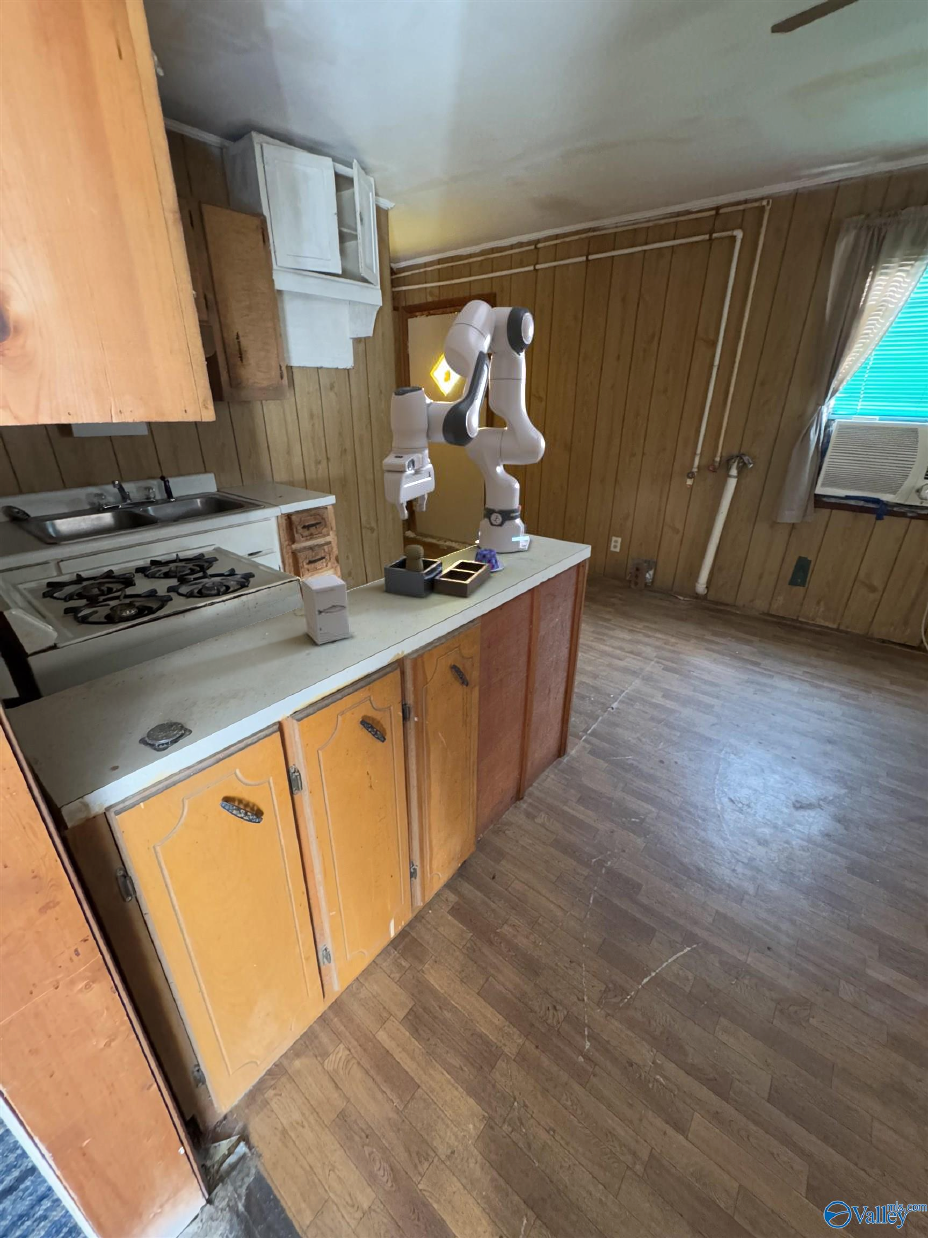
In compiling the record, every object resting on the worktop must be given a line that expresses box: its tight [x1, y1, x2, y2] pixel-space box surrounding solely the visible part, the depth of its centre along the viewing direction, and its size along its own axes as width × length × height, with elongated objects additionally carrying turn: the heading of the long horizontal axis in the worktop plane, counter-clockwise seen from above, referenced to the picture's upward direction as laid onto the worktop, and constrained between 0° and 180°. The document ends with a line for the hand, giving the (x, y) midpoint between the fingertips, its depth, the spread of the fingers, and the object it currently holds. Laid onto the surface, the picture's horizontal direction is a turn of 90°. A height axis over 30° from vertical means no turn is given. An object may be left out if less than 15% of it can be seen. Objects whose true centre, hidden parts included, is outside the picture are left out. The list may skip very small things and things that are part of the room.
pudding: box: [471, 548, 506, 572], centre depth 153 cm, size 12×12×5 cm
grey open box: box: [383, 555, 443, 599], centre depth 136 cm, size 12×12×7 cm
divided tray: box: [433, 559, 492, 598], centre depth 139 cm, size 18×10×4 cm, turn 158°
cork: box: [403, 544, 425, 572], centre depth 135 cm, size 6×6×11 cm
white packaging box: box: [300, 573, 351, 645], centre depth 107 cm, size 7×7×13 cm
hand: (412, 514), depth 129 cm, fingers open, 8 cm apart
